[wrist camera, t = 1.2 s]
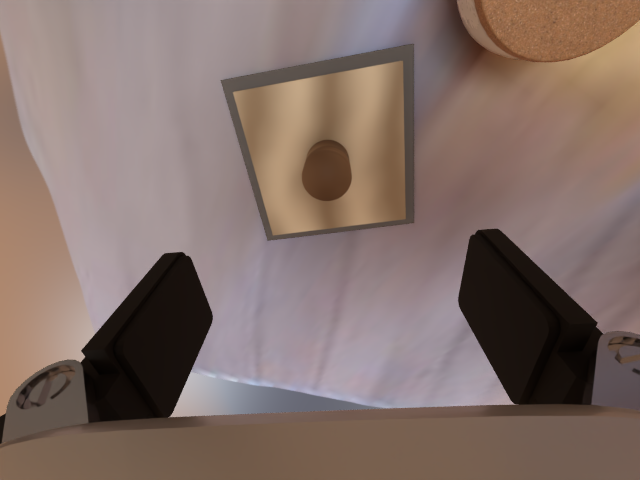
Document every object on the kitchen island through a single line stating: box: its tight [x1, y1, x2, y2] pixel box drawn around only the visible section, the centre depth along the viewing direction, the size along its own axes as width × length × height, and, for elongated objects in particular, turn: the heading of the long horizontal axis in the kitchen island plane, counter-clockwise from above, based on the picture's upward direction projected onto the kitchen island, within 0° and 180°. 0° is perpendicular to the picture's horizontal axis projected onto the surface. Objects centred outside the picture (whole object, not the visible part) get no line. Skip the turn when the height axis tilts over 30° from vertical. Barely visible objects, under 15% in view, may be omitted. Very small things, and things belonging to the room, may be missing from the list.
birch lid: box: [233, 61, 406, 235], centre depth 26 cm, size 14×14×5 cm
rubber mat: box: [221, 44, 414, 241], centre depth 28 cm, size 16×16×1 cm
